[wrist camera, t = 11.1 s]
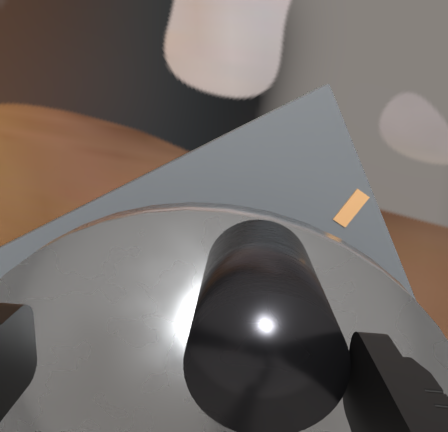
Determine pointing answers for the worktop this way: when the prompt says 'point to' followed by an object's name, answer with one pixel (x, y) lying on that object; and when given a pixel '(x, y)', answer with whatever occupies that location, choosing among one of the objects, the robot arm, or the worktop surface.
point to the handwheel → (204, 323)
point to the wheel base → (257, 182)
